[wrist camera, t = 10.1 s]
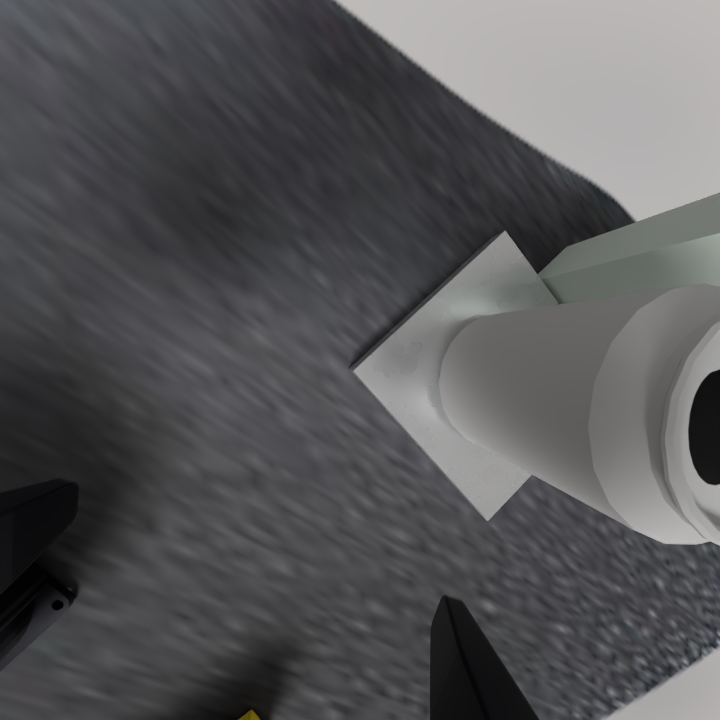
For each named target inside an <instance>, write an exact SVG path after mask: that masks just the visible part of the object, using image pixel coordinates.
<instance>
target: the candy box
mask: <svg viewBox="0 0 720 720" xmlns="http://www.w3.org/2000/svg"><path fill="white" fill-rule="evenodd" d="M238 720H260V718H259V717H258V716H257V715H256V713H255V712H254V711H253V710H250V711H249V712H247V713H246V714H245V715H244V716H242V717H241V718H240V719H238Z"/></svg>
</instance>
